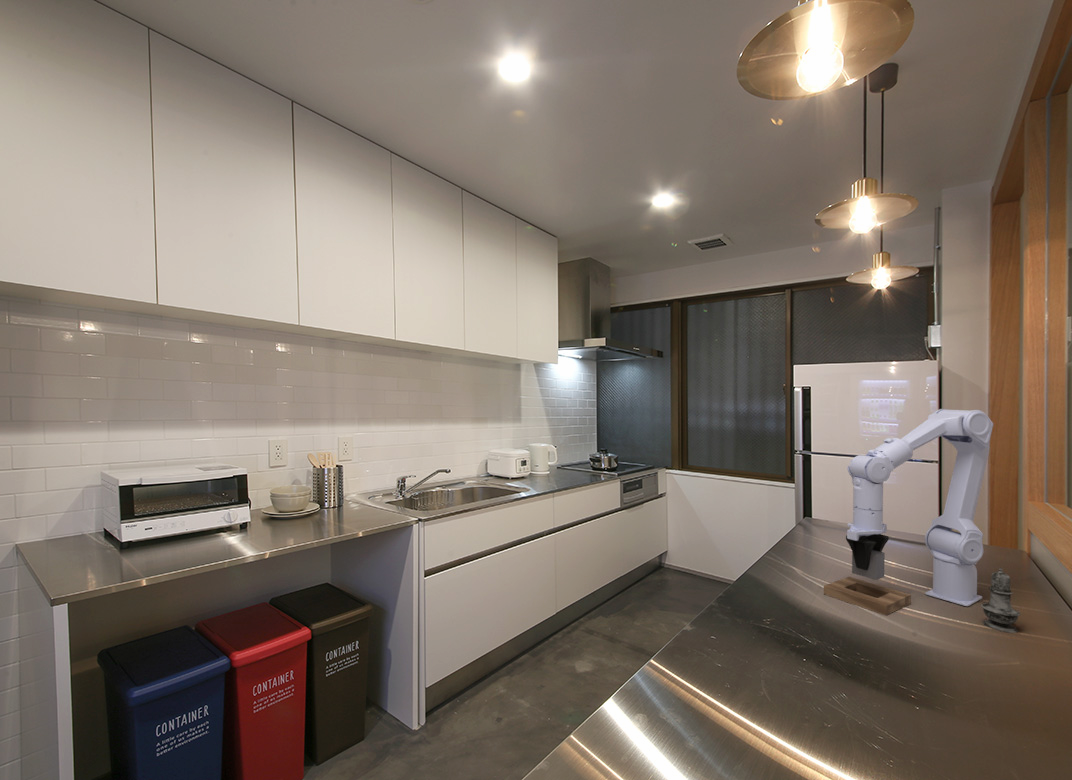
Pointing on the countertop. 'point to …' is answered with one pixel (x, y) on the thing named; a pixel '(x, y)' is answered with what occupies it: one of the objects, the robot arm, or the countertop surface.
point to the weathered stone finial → (1000, 604)
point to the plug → (871, 566)
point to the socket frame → (882, 603)
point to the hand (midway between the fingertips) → (866, 567)
